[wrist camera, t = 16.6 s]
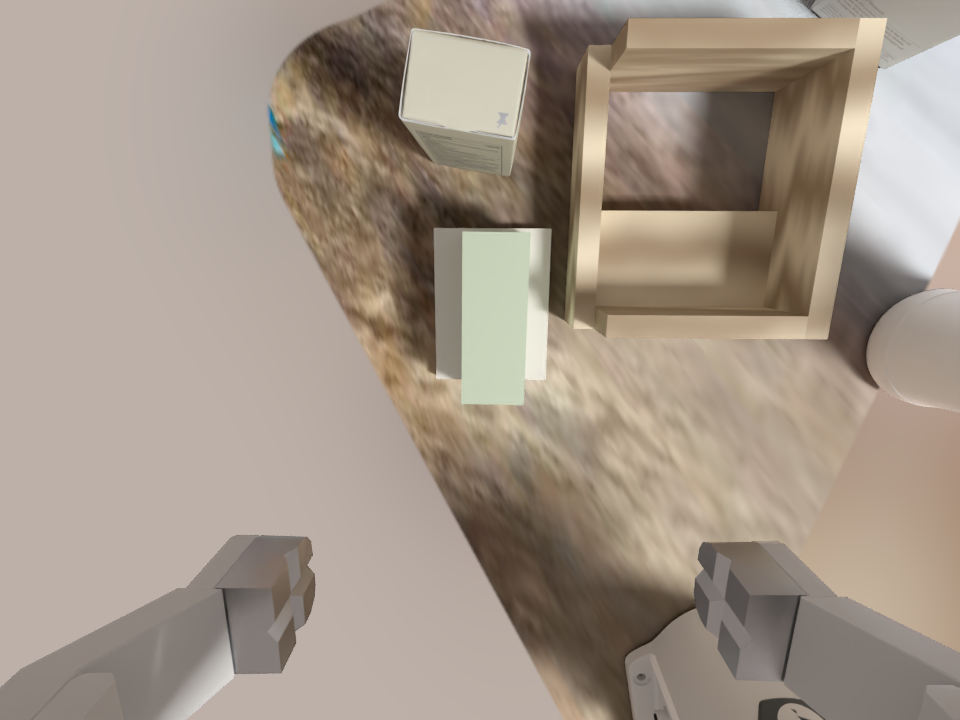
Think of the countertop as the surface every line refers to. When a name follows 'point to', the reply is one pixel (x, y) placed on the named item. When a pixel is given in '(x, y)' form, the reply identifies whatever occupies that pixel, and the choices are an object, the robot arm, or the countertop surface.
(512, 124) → the skincare box
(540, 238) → the mat
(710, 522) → the countertop surface
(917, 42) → the supplement box
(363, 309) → the countertop surface
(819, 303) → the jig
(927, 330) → the vodka
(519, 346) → the block
